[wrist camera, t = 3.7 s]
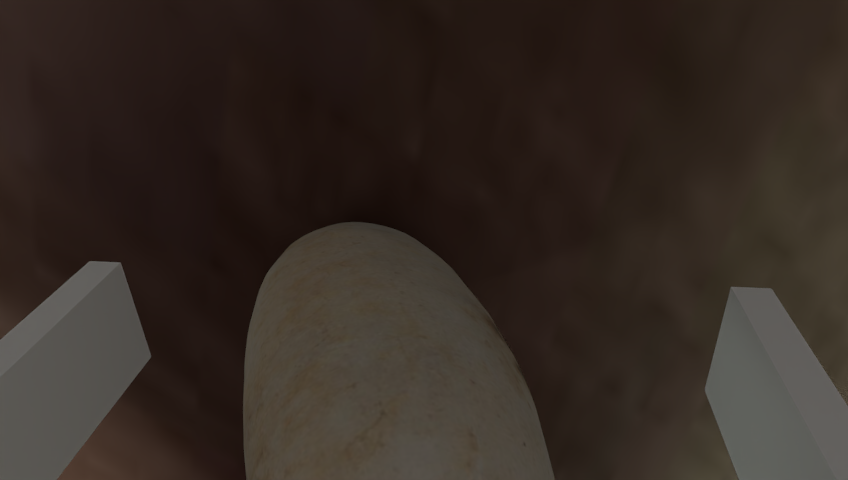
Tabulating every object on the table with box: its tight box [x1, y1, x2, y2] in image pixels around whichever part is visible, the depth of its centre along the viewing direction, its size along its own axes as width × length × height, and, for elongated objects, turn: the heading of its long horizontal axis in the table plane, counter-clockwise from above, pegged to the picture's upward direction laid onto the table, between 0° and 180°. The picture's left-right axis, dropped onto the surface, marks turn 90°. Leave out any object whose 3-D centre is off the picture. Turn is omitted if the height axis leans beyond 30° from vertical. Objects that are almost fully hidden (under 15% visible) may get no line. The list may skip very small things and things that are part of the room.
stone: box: [243, 222, 555, 480], centre depth 12 cm, size 6×6×12 cm
